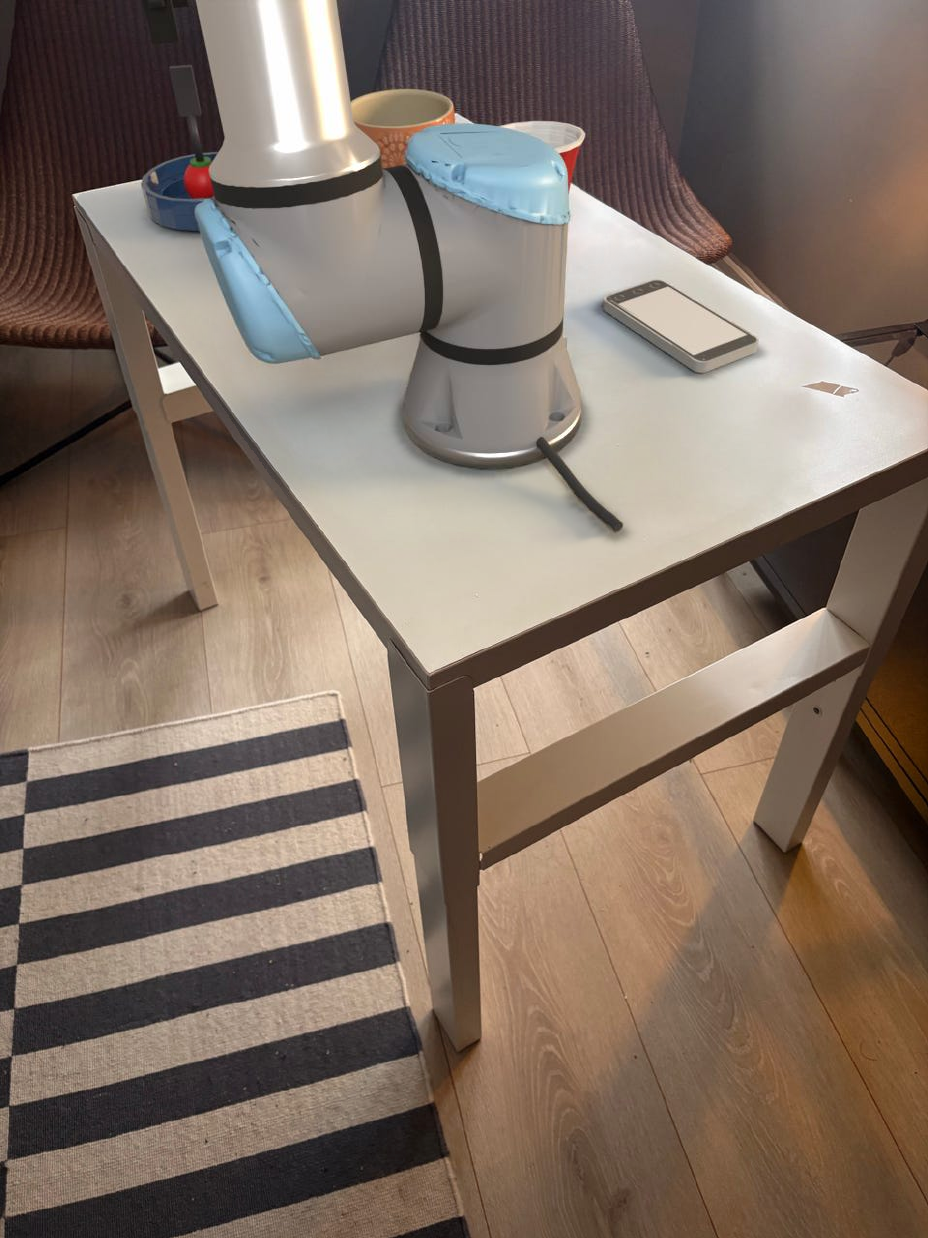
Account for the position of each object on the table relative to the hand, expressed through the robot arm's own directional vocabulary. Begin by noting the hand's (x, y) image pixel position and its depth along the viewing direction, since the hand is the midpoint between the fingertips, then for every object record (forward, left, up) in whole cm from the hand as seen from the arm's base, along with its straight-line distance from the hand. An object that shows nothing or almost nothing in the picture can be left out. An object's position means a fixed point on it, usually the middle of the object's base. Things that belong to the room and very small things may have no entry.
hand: (171, 23), depth 106 cm
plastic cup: (-17, -36, -20) cm, 44 cm away
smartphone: (-37, -47, -20) cm, 63 cm away
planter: (-3, -23, -20) cm, 31 cm away
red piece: (0, 0, -19) cm, 19 cm away
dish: (0, 0, -20) cm, 20 cm away
